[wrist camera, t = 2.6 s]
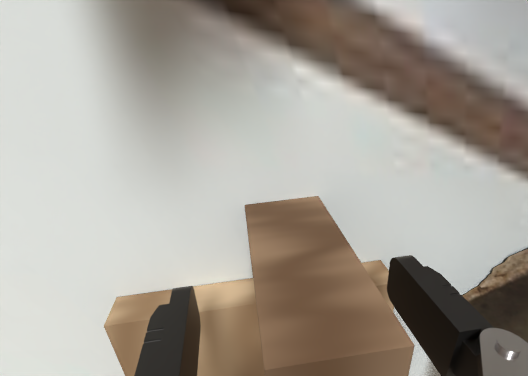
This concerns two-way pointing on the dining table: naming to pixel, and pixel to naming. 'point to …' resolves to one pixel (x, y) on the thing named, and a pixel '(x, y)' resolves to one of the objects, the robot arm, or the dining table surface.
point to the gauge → (318, 297)
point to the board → (208, 325)
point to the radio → (505, 296)
